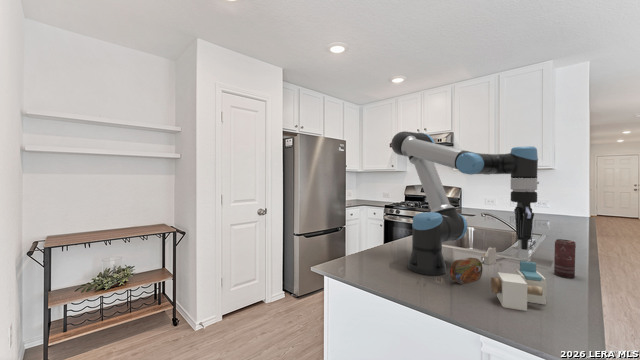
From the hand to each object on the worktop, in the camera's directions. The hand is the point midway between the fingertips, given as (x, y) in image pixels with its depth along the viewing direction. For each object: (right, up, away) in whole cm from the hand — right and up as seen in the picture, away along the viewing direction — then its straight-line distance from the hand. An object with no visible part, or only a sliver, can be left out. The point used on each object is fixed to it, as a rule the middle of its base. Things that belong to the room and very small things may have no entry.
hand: (523, 257), depth 97 cm
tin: (-16, -11, +7) cm, 21 cm away
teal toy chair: (-3, -4, -8) cm, 9 cm away
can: (+26, -11, +13) cm, 31 cm away
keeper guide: (-3, -11, -7) cm, 14 cm away
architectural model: (+5, -11, +28) cm, 30 cm away
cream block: (-12, -11, -11) cm, 20 cm away
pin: (-11, -8, -11) cm, 18 cm away
